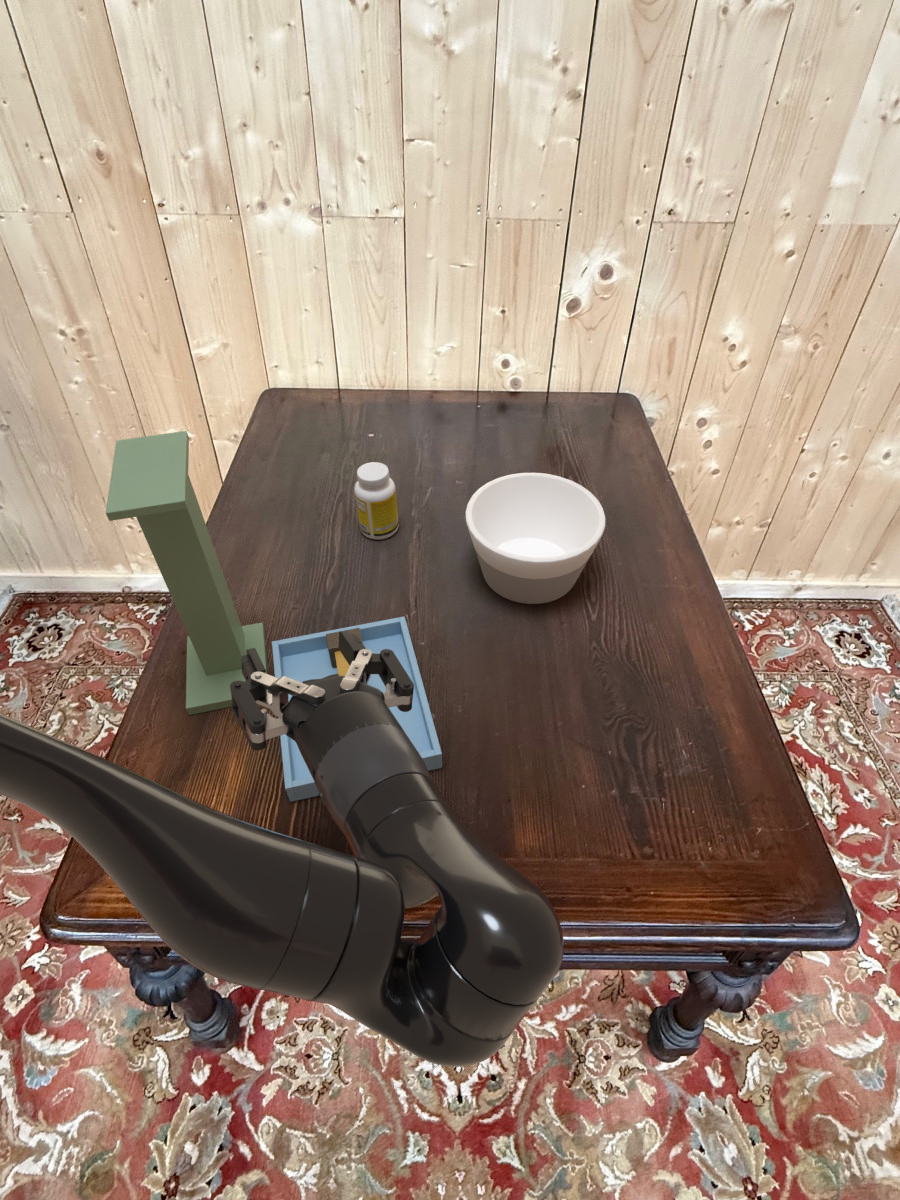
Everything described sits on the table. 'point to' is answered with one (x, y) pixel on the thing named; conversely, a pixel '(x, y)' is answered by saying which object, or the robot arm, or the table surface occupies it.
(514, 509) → the bowl
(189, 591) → the stand
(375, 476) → the pill bottle
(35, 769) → the robot arm
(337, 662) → the brass bolt
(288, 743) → the tray
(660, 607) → the table surface
